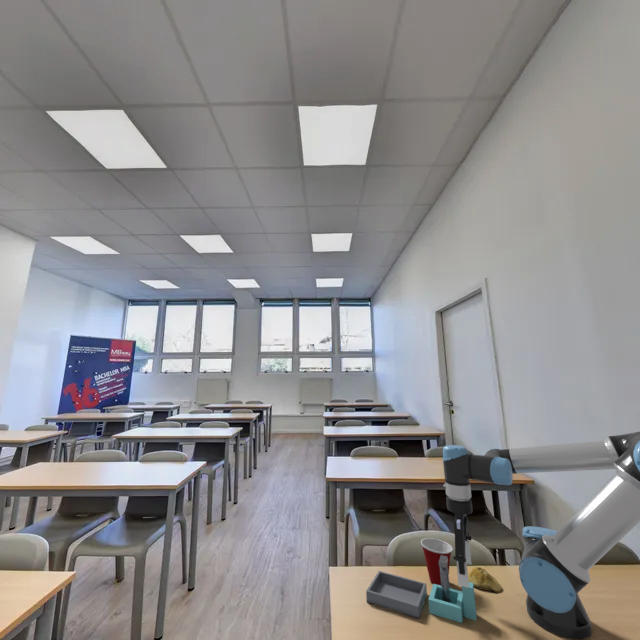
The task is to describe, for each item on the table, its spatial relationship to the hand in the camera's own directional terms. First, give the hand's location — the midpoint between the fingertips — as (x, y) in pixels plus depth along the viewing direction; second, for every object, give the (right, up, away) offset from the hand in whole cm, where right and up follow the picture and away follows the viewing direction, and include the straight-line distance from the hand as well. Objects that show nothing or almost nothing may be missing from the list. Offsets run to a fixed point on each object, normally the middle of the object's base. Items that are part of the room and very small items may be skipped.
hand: (465, 574), depth 94 cm
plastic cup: (-3, -14, +13) cm, 20 cm away
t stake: (-5, -11, 0) cm, 12 cm away
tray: (-19, -12, +5) cm, 24 cm away
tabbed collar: (-4, -11, 0) cm, 11 cm away
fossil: (+12, -14, +13) cm, 23 cm away
